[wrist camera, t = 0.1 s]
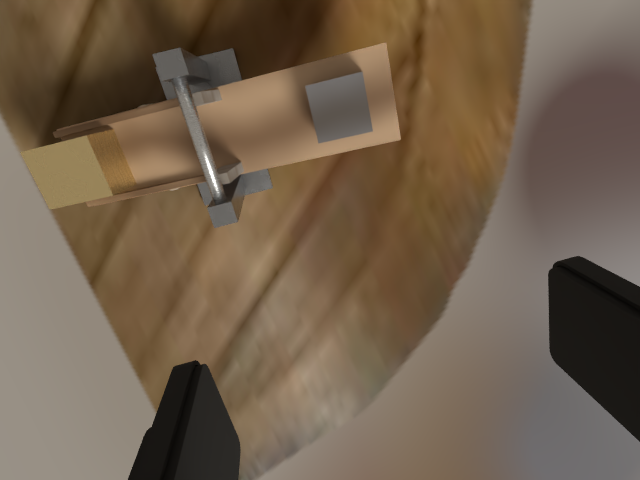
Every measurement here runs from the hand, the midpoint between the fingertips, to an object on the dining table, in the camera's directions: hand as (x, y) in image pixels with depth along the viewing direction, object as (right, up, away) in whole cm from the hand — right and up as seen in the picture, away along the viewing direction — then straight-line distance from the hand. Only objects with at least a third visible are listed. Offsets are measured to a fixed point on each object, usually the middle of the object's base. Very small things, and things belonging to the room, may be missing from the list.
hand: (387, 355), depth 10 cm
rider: (-21, +10, +24) cm, 33 cm away
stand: (-11, +14, +27) cm, 32 cm away
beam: (-10, +12, +22) cm, 27 cm away
